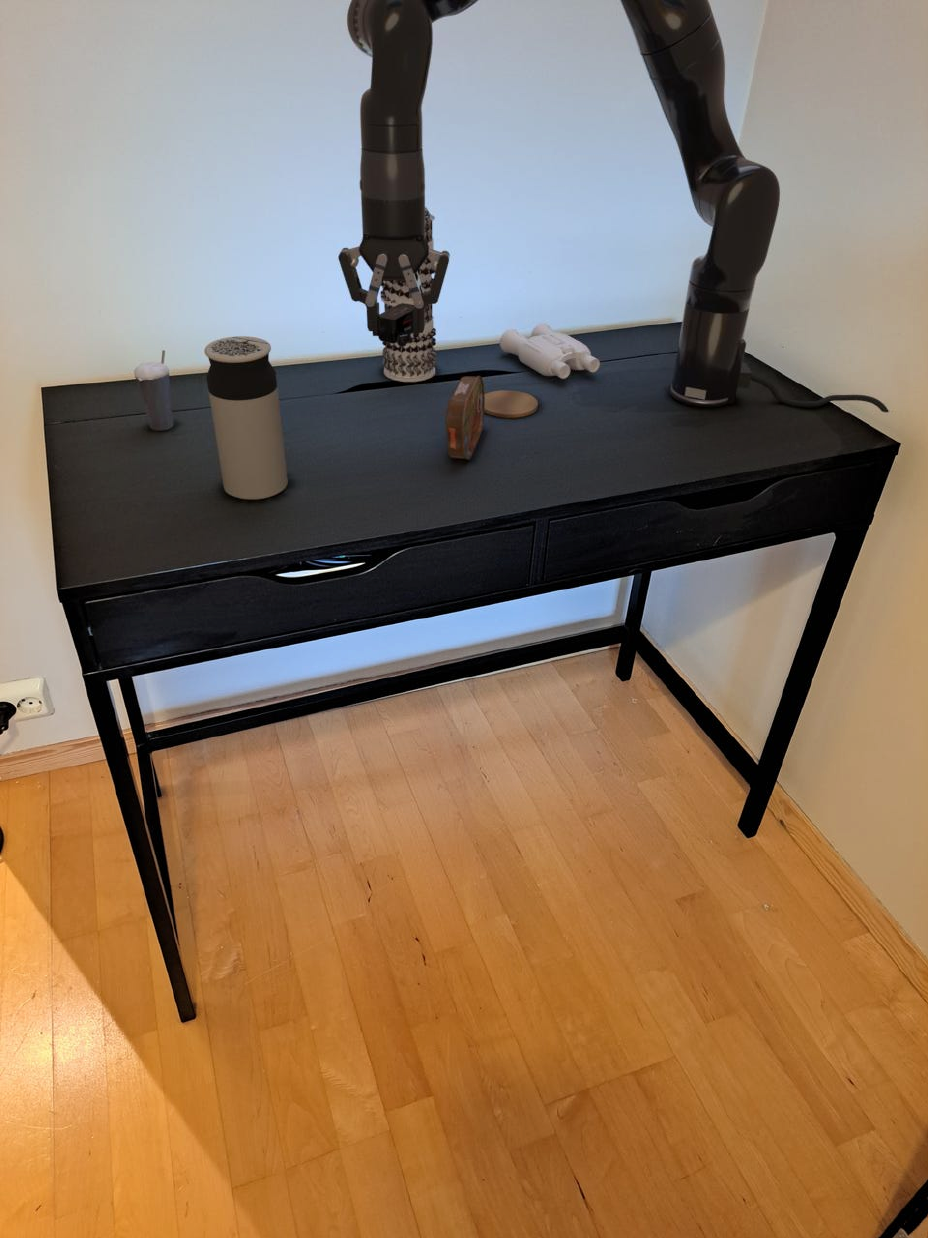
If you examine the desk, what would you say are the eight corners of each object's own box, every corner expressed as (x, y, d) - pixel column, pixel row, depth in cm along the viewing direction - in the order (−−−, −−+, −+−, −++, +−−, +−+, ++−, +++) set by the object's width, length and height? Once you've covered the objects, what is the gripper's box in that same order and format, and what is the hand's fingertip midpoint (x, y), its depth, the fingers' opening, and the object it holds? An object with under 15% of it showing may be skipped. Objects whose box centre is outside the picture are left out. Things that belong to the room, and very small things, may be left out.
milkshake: (189, 421, 129) (177, 353, 123) (164, 435, 125) (150, 365, 119) (163, 415, 131) (150, 347, 125) (138, 429, 127) (123, 359, 121)
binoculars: (548, 345, 157) (550, 318, 154) (604, 376, 146) (607, 347, 143) (497, 354, 153) (499, 327, 150) (551, 387, 142) (553, 358, 139)
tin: (465, 470, 118) (466, 410, 113) (442, 467, 119) (442, 407, 114) (486, 423, 130) (488, 367, 125) (464, 421, 131) (465, 365, 126)
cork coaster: (537, 394, 139) (537, 390, 139) (538, 418, 132) (539, 414, 132) (479, 392, 139) (479, 388, 139) (477, 416, 132) (477, 412, 132)
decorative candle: (369, 374, 144) (362, 207, 129) (402, 357, 151) (399, 196, 136) (416, 387, 141) (414, 216, 126) (448, 369, 147) (450, 204, 132)
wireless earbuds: (373, 343, 114) (371, 318, 112) (402, 327, 119) (401, 302, 118) (404, 350, 113) (403, 324, 111) (432, 333, 118) (432, 308, 116)
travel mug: (258, 508, 109) (238, 364, 99) (210, 490, 113) (186, 349, 102) (301, 482, 115) (287, 343, 104) (254, 466, 118) (236, 330, 108)
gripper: (455, 185, 108) (453, 326, 118) (337, 181, 108) (345, 323, 119) (452, 199, 102) (450, 347, 112) (327, 195, 102) (336, 343, 113)
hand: (396, 334), depth 115 cm, fingers closed on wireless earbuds, 4 cm apart
